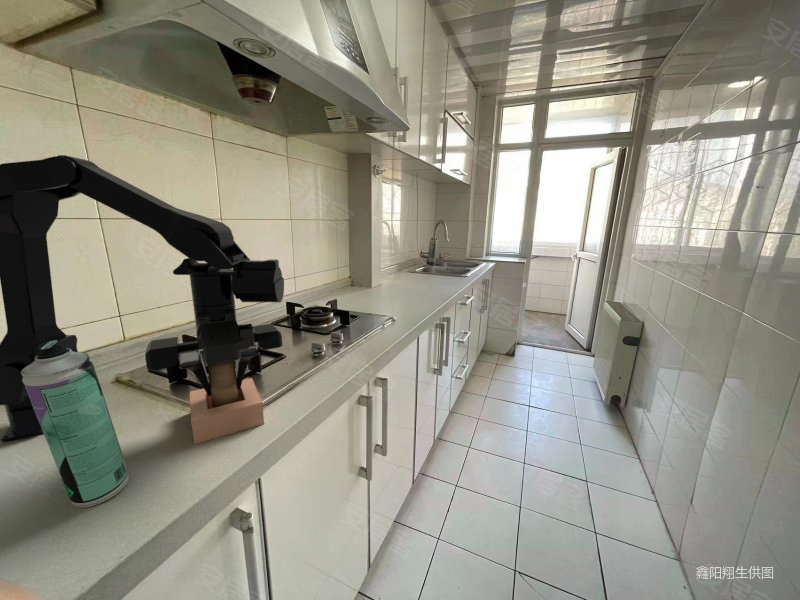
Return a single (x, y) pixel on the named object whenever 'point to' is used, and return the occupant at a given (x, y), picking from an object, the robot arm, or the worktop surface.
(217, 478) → the worktop surface
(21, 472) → the worktop surface
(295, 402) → the worktop surface
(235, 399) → the peg
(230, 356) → the robot arm
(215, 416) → the socket block
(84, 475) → the spray can
